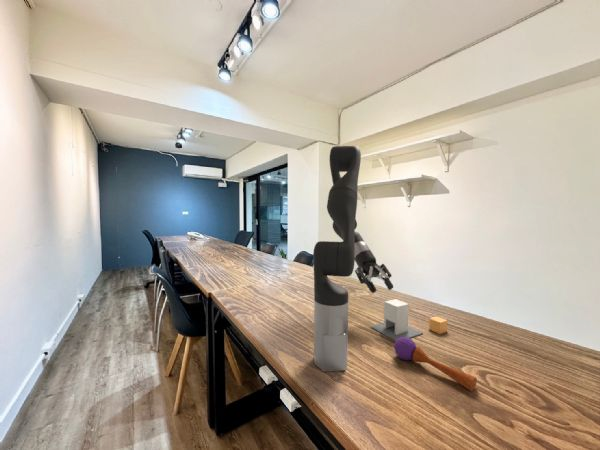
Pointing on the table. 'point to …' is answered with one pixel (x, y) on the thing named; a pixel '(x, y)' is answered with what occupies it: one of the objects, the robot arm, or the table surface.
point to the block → (438, 325)
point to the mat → (391, 332)
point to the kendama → (431, 362)
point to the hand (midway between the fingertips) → (383, 290)
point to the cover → (396, 315)
